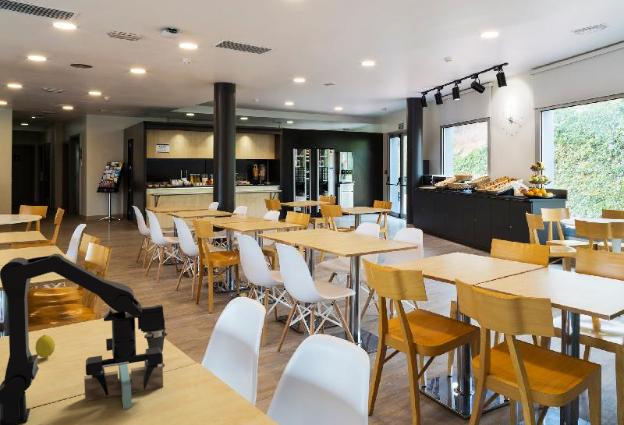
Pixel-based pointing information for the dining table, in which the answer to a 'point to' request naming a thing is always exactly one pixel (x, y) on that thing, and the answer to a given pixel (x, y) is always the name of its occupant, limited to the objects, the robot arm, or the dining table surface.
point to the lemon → (45, 346)
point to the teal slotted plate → (125, 386)
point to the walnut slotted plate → (114, 386)
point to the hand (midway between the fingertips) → (126, 391)
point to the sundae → (156, 340)
